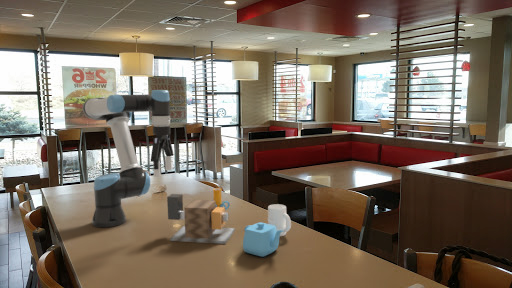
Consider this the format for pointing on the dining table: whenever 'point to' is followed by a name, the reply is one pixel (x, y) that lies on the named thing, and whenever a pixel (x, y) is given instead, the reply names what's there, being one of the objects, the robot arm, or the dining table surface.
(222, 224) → the block
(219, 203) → the cylinder
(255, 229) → the teapot
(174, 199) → the grey mallet
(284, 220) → the mug
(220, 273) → the dining table surface
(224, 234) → the block
